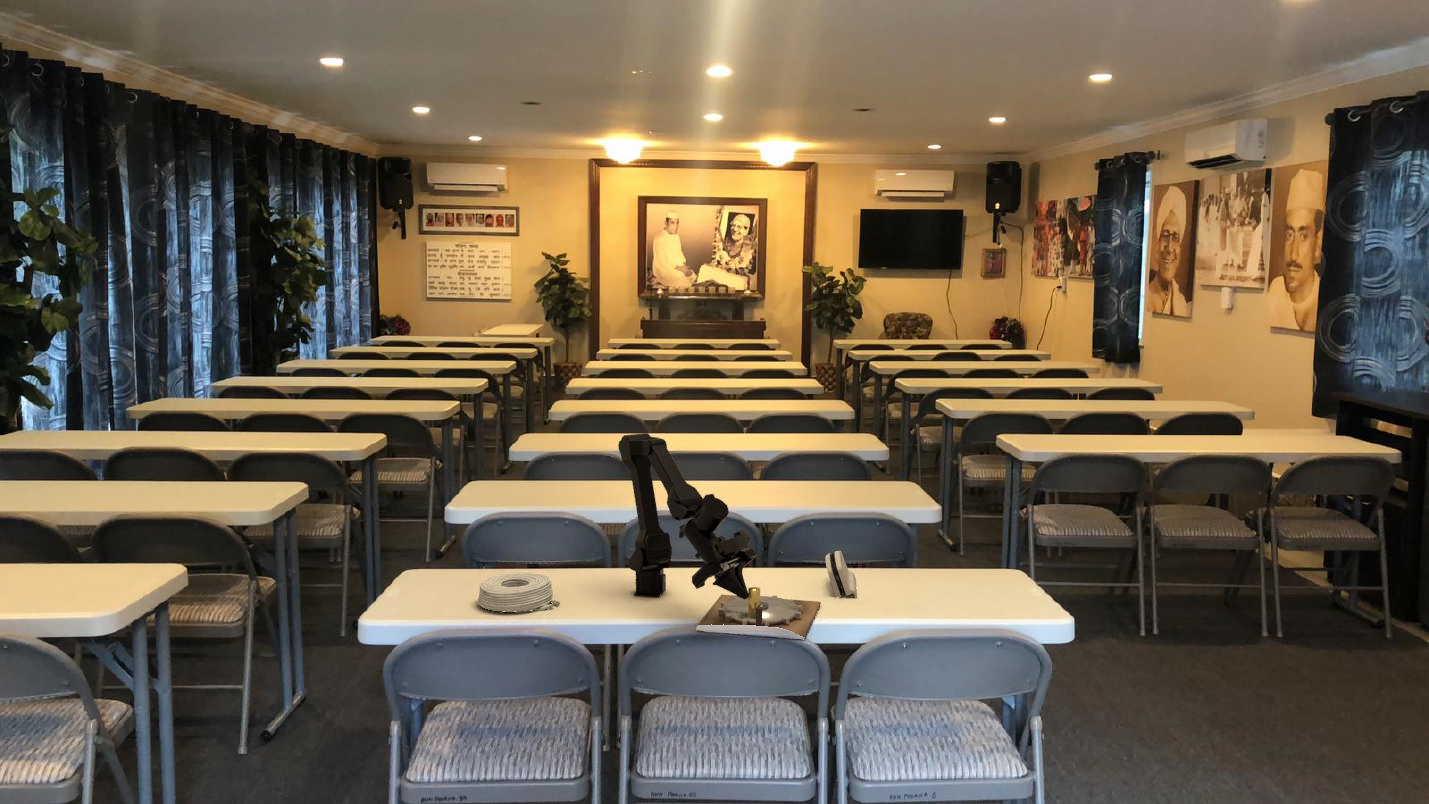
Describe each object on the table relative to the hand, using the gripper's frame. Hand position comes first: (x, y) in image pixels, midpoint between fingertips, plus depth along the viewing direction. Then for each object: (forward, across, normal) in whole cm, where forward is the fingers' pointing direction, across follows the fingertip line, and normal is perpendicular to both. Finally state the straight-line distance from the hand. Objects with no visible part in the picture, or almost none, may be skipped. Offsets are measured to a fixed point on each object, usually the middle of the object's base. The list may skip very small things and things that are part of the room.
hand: (747, 598), depth 235 cm
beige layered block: (+8, +38, +2) cm, 39 cm away
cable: (-34, -16, +44) cm, 58 cm away
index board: (+4, +7, +5) cm, 10 cm away
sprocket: (+3, +7, +4) cm, 9 cm away
